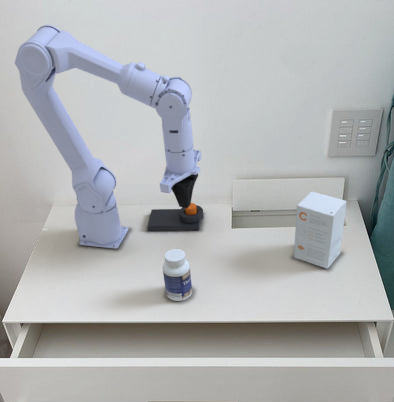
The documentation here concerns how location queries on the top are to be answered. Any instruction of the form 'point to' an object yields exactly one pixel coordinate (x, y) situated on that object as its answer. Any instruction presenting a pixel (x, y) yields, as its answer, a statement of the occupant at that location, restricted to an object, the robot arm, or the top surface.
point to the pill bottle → (177, 275)
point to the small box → (319, 229)
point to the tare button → (191, 209)
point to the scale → (174, 220)
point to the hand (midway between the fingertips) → (184, 205)
